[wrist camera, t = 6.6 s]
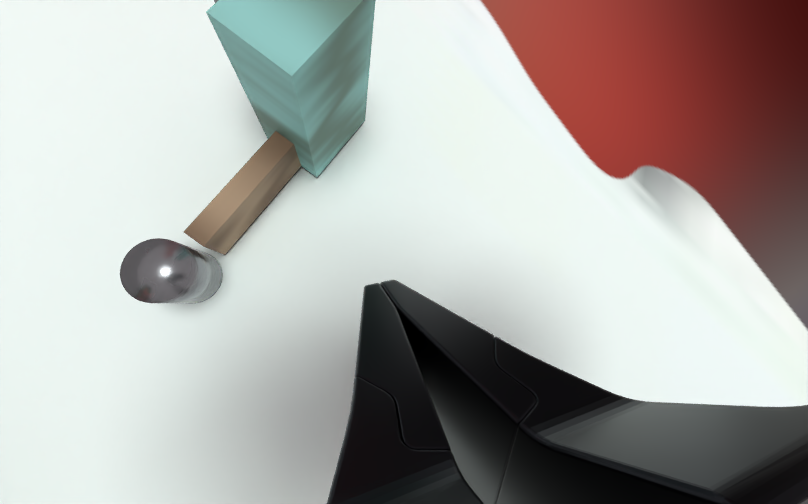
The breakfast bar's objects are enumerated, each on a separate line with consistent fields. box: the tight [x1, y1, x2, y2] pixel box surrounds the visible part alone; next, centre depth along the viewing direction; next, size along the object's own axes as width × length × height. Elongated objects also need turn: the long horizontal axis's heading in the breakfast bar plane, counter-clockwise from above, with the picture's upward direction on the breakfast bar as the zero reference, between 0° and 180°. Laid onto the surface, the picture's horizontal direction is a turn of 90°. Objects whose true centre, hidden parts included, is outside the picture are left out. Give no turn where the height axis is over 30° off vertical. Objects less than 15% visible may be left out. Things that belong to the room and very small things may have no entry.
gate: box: [184, 0, 375, 255], centre depth 16 cm, size 12×4×10 cm, turn 145°
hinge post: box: [120, 238, 222, 303], centre depth 18 cm, size 3×3×4 cm
